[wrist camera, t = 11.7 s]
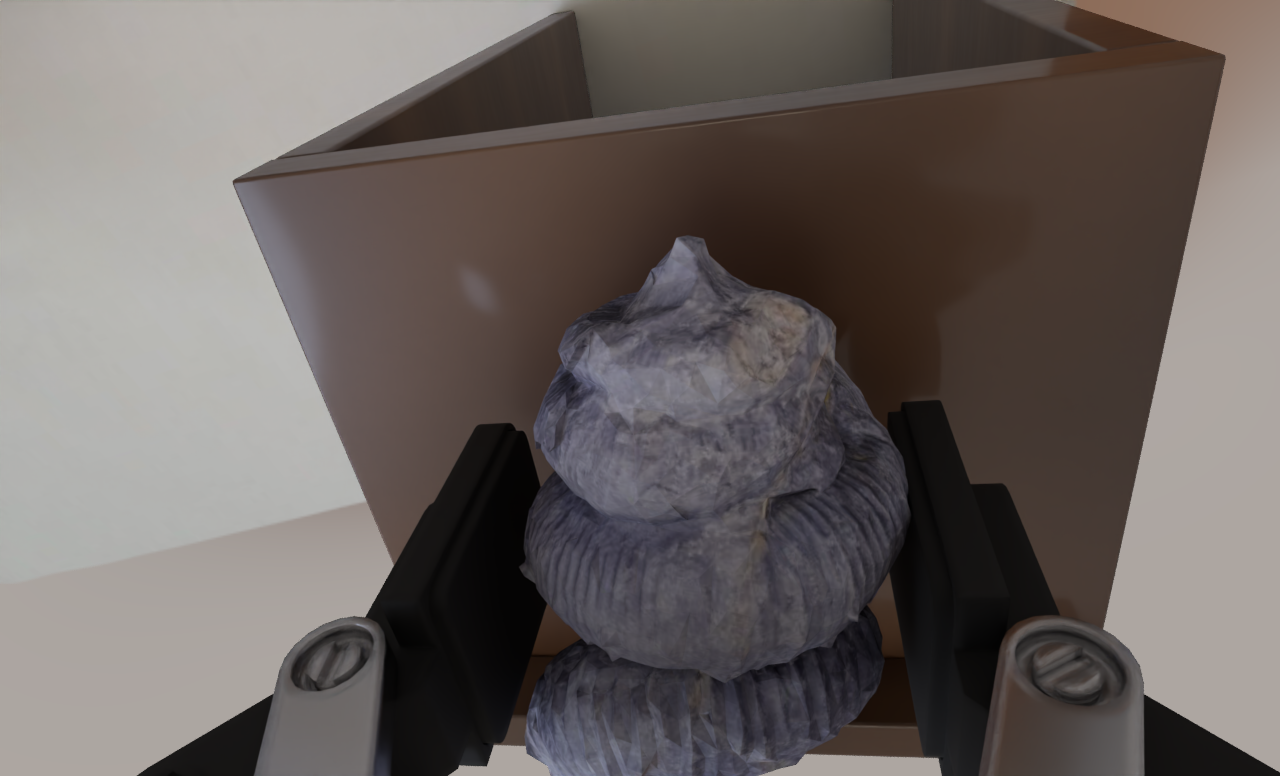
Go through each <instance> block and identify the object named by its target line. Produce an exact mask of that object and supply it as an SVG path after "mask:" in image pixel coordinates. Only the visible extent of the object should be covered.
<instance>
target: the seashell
mask: <svg viewBox="0 0 1280 776" xmlns="http://www.w3.org/2000/svg"><path fill="white" fill-rule="evenodd" d="M835 344H836V326H835V325H834V323H833V322H832V320H831V319H830V318H829V317H828V316H826V315H825V314H824V313H822V312H821V311H820V310H819V309H817V308H814V307H812V306H811V305H810V304H808V303H807V302H806V301H804V300H803V299H800V298H796V297H793V296H790V295H787V294H784V293H780V292H777V291H774V290H765V289H761V288H757V287H753V286H750V285H748V284H746V283H745V282H743V281H741V280H739V279H737V278H735V277H733V276H732V275H731V274H729V273H728V272H727V271H726V270H725V269H724V268H723V267H722V266H721V265H720V264H718V263H717V262H716V261H715V260H714V259H713V258H712V257H711V256H710V255H709V253H708V250H707V247H706V244H705V241H704V239H703V238H698V237H693V236H689V235H686V236H682V237H678V238H676V240H675V243H674V246H673V248H672V249H671V250H670V251H669V252H668V254H667V255H666V256H665V257H664V258H663V259H662V260H661V261H660V262H659V263H658V264H657V266H656V267H655V268H653V269H651V271H650V273H649V275H648V277H647V279H646V281H645V283H644V285H643V286H642V288H641V289H640V290H639V292H636V293H631V294H627V295H623V296H620V297H618V298H616V299H614V300H612V301H610V302H608V303H606V304H604V305H602V306H601V307H599V308H598V309H596V310H595V311H592V312H588V313H584V314H582V315H581V316H580V317H579V318H578V319H577V320H575V321H574V322H573V323H572V324H571V325H570V326H569V327H568V328H567V329H566V331H565V334H564V336H563V339H562V341H561V343H560V346H559V348H558V352H559V355H560V357H561V360H562V362H563V363H562V364H560V366H559V368H558V370H557V372H556V374H555V377H554V379H553V381H552V383H551V385H550V387H549V389H548V391H547V393H546V395H545V397H544V399H543V402H542V404H541V407H540V410H539V413H538V416H537V418H536V421H535V424H534V427H533V431H534V439H535V446H536V449H540V448H541V450H542V452H543V454H544V456H545V458H546V459H547V461H548V462H549V464H550V465H551V466H552V468H553V469H554V470H555V471H554V472H553V473H552V474H551V475H550V476H549V477H548V479H547V480H546V481H545V483H544V484H543V485H542V487H541V488H540V490H539V491H538V493H537V495H536V498H535V500H534V502H533V504H532V507H531V508H529V512H528V518H527V523H526V529H525V538H524V552H525V556H526V559H525V562H524V563H523V564H522V565H521V566H519V568H520V570H521V572H522V573H523V575H524V576H525V577H526V578H528V579H529V580H531V581H532V582H534V583H536V588H537V590H538V592H539V593H540V595H541V596H542V597H543V598H544V600H545V601H546V602H547V603H548V605H549V606H550V607H551V608H552V609H553V611H554V612H555V613H556V614H557V615H558V616H559V617H560V618H561V619H562V620H563V621H564V622H565V624H566V625H569V626H570V627H571V628H572V629H573V630H574V631H575V632H576V633H577V634H578V635H579V636H580V637H581V638H582V639H580V640H578V641H576V642H575V643H573V644H571V645H570V646H568V647H567V648H565V649H563V650H562V651H560V652H559V653H558V654H557V655H556V656H555V657H554V658H553V659H552V660H551V661H550V662H549V663H548V665H547V666H546V668H545V672H544V673H543V674H542V675H541V676H540V677H539V679H538V680H537V682H536V686H535V689H534V692H533V695H532V699H531V702H530V705H529V708H528V709H529V710H528V713H527V724H526V730H525V744H526V750H527V754H529V755H530V756H532V757H534V758H535V759H537V760H539V761H541V762H542V763H543V764H545V765H547V766H548V768H549V771H550V775H551V776H758V775H761V774H765V773H768V772H771V771H774V770H776V769H779V768H783V767H788V766H793V765H796V764H797V763H798V762H799V760H800V759H801V758H802V757H803V756H804V754H805V753H806V752H807V751H809V750H811V749H813V748H815V747H817V746H819V745H821V744H823V743H825V742H827V741H829V740H831V739H833V738H834V737H836V736H838V733H839V731H840V729H841V728H842V727H843V726H845V725H847V724H848V723H850V722H851V721H853V720H854V719H856V718H857V717H858V715H859V714H860V712H861V711H862V709H863V708H864V707H865V705H866V704H867V702H868V701H869V699H870V698H871V697H872V695H873V694H875V693H876V691H877V688H878V685H879V683H880V680H881V674H882V670H883V666H884V662H885V660H884V657H883V653H882V640H883V637H882V634H881V631H880V628H879V625H878V622H877V618H876V617H875V615H874V614H873V612H872V611H871V610H870V608H869V607H868V604H870V603H871V602H872V600H873V599H874V597H875V595H876V594H877V592H878V590H879V589H880V587H881V585H882V584H883V582H884V580H885V578H886V576H887V574H888V573H889V571H890V569H891V567H892V565H893V563H894V561H895V560H896V558H897V556H898V554H899V552H900V551H901V549H902V547H903V545H904V543H905V539H906V535H907V531H908V528H909V524H910V521H911V517H912V515H911V511H910V508H909V505H908V482H907V478H906V475H905V474H906V471H905V466H904V460H903V456H902V455H901V453H900V452H899V450H898V449H897V447H896V446H895V444H894V443H893V441H892V439H891V437H890V435H889V433H888V431H887V429H886V428H885V427H884V426H883V425H882V424H881V423H880V422H879V421H878V420H877V419H876V418H875V417H874V416H873V414H872V412H871V410H870V408H869V406H868V404H867V402H866V400H865V398H864V396H863V394H862V392H861V390H860V389H859V388H858V387H857V386H856V385H855V384H854V383H853V382H852V381H851V379H850V378H849V377H848V375H847V374H846V372H845V371H844V370H843V368H842V367H841V366H840V365H839V364H838V362H837V361H836V360H835Z"/></svg>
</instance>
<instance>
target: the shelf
mask: <svg viewBox="0 0 1280 776" xmlns="http://www.w3.org/2000/svg"><path fill="white" fill-rule="evenodd" d="M1225 60H1226V59H1225V55H1223V54H1220V53H1217V52H1214V51H1211V50H1208V49H1205V48H1202V47H1198V46H1196V45H1192V44H1189V43H1186V42H1183V41H1177V40H1174V39H1171V38H1168V37H1165V36H1162V35H1159V34H1156V33H1153V32H1150V31H1147V30H1144V29H1140V28H1138V27H1134V26H1132V25H1129V24H1125V23H1122V22H1119V21H1116V20H1113V19H1110V18H1107V17H1104V16H1101V15H1098V14H1095V13H1092V12H1089V11H1085V10H1083V9H1080V8H1077V7H1074V6H1071V5H1068V4H1065V3H1061V2H1058V1H1055V0H893V5H892V79H888V80H880V81H873V82H865V83H857V84H850V85H842V86H834V87H827V88H819V89H811V90H804V91H796V92H788V93H781V94H773V95H765V96H758V97H750V98H743V99H735V100H727V101H720V102H712V103H704V104H697V105H689V106H681V107H674V108H666V109H658V110H651V111H643V112H635V113H628V114H620V115H613V116H605V117H597V118H593V115H592V109H591V104H590V98H589V92H588V87H587V81H586V75H585V70H584V64H583V58H582V53H581V47H580V41H579V36H578V30H577V24H576V19H575V13H574V12H573V11H570V12H563V13H557V14H552V15H550V16H548V17H546V18H544V19H542V20H540V21H538V22H536V23H534V24H532V25H531V26H529V27H527V28H525V29H523V30H521V31H519V32H517V33H515V34H513V35H511V36H509V37H508V38H506V39H504V40H502V41H500V42H498V43H496V44H494V45H492V46H490V47H488V48H486V49H485V50H483V51H481V52H479V53H477V54H475V55H473V56H471V57H469V58H467V59H465V60H464V61H462V62H460V63H458V64H456V65H454V66H452V67H450V68H448V69H446V70H444V71H442V72H441V73H439V74H437V75H435V76H433V77H431V78H429V79H427V80H425V81H423V82H421V83H419V84H418V85H416V86H414V87H412V88H410V89H408V90H406V91H404V92H402V93H400V94H398V95H397V96H395V97H393V98H391V99H389V100H387V101H385V102H383V103H381V104H379V105H377V106H375V107H374V108H372V109H370V110H368V111H366V112H364V113H362V114H360V115H358V116H356V117H354V118H352V119H351V120H349V121H347V122H345V123H343V124H341V125H339V126H337V127H335V128H333V129H331V130H330V131H328V132H326V133H324V134H322V135H320V136H318V137H316V138H314V139H312V140H310V141H308V142H307V143H305V144H303V145H301V146H299V147H297V148H295V149H293V150H291V151H289V152H287V153H285V154H284V155H282V156H280V157H278V158H277V159H275V160H271V161H269V162H267V163H265V164H263V165H261V166H259V167H257V168H255V169H253V170H252V171H250V172H248V173H246V174H244V175H242V176H240V177H238V178H236V179H235V180H233V185H234V188H235V190H236V192H237V195H238V197H239V199H240V202H241V204H242V207H243V209H244V211H245V214H246V216H247V218H248V221H249V223H250V226H251V228H252V230H253V233H254V235H255V237H256V240H257V242H258V244H259V247H260V249H261V252H262V254H263V256H264V259H265V261H266V263H267V266H268V268H269V271H270V273H271V275H272V278H273V280H274V282H275V285H276V287H277V289H278V292H279V294H280V297H281V299H282V301H283V304H284V306H285V308H286V311H287V313H288V316H289V318H290V320H291V323H292V325H293V327H294V330H295V332H296V335H297V337H298V339H299V342H300V344H301V346H302V349H303V351H304V353H305V356H306V358H307V361H308V363H309V365H310V368H311V370H312V372H313V375H314V377H315V380H316V382H317V384H318V387H319V389H320V391H321V394H322V396H323V398H324V401H325V403H326V406H327V408H328V410H329V413H330V415H331V417H332V420H333V422H334V425H335V427H336V429H337V432H338V434H339V436H340V439H341V441H342V443H343V446H344V448H345V451H346V453H347V455H348V458H349V460H350V462H351V465H352V467H353V470H354V472H355V474H356V477H357V479H358V481H359V484H360V486H361V489H362V491H363V493H364V496H365V498H366V500H367V503H368V505H369V507H370V510H371V512H372V515H373V517H374V519H375V522H376V524H377V526H378V529H379V531H380V534H381V536H382V538H383V541H384V543H385V545H386V548H387V550H388V552H389V555H390V557H391V559H392V562H393V564H394V565H395V563H396V561H397V560H398V558H399V556H400V554H401V553H402V551H403V549H404V547H405V545H406V544H407V542H408V540H409V538H410V536H411V535H412V533H413V531H414V529H415V527H416V526H417V524H418V522H419V520H420V519H421V517H422V515H423V513H424V511H425V510H426V509H427V507H428V506H429V505H430V504H432V503H434V501H435V499H436V498H437V496H438V494H439V492H440V490H441V489H442V487H443V485H444V483H445V481H446V480H447V478H448V476H449V474H450V472H451V470H452V469H453V467H454V465H455V463H456V461H457V460H458V458H459V456H460V454H461V452H462V451H463V449H464V447H465V445H466V443H467V441H468V440H469V438H470V436H471V434H472V432H473V431H474V429H475V427H476V426H477V425H480V424H494V423H512V424H513V425H514V427H515V428H516V431H524V432H525V434H526V436H527V439H528V442H529V446H530V450H531V453H532V457H533V461H534V464H535V468H536V471H537V475H538V479H539V482H540V486H541V487H542V485H543V484H544V483H545V481H546V480H547V479H548V477H549V476H550V475H551V474H552V473H553V472H554V471H555V470H554V469H553V468H552V466H551V465H550V464H549V462H548V461H547V459H546V458H545V456H544V454H543V452H542V450H541V448H540V449H536V446H535V439H534V431H533V427H534V424H535V421H536V418H537V416H538V413H539V410H540V407H541V404H542V402H543V399H544V397H545V395H546V393H547V391H548V389H549V387H550V385H551V383H552V381H553V379H554V377H555V374H556V372H557V370H558V368H559V366H560V364H562V363H563V362H562V360H561V357H560V355H559V352H558V348H559V346H560V343H561V341H562V339H563V336H564V334H565V331H566V329H567V328H568V327H569V326H570V325H571V324H572V323H573V322H574V321H575V320H577V319H578V318H579V317H580V316H581V315H582V314H584V313H588V312H592V311H595V310H596V309H598V308H599V307H601V306H602V305H604V304H606V303H608V302H610V301H612V300H614V299H616V298H618V297H620V296H623V295H627V294H631V293H636V292H639V290H640V289H641V288H642V286H643V285H644V283H645V281H646V279H647V277H648V275H649V273H650V271H651V269H653V268H655V267H656V266H657V264H658V263H659V262H660V261H661V260H662V259H663V258H664V257H665V256H666V255H667V254H668V252H669V251H670V250H671V249H672V248H673V246H674V243H675V240H676V238H678V237H682V236H686V235H689V236H693V237H698V238H703V239H704V241H705V244H706V247H707V250H708V253H709V255H710V256H711V257H712V258H713V259H714V260H715V261H716V262H717V263H718V264H720V265H721V266H722V267H723V268H724V269H725V270H726V271H727V272H728V273H729V274H731V275H732V276H733V277H735V278H737V279H739V280H741V281H743V282H745V283H746V284H748V285H750V286H753V287H757V288H761V289H765V290H774V291H777V292H780V293H784V294H787V295H790V296H793V297H796V298H800V299H803V300H804V301H806V302H807V303H808V304H810V305H811V306H812V307H814V308H817V309H819V310H820V311H821V312H822V313H824V314H825V315H826V316H828V317H829V318H830V319H831V320H832V322H833V323H834V325H835V326H836V344H835V360H836V361H837V362H838V364H839V365H840V366H841V367H842V368H843V370H844V371H845V372H846V374H847V375H848V377H849V378H850V379H851V381H852V382H853V383H854V384H855V385H856V386H857V387H858V388H859V389H860V390H861V392H862V394H863V396H864V398H865V400H866V402H867V404H868V406H869V408H870V410H871V412H872V414H873V416H874V417H875V418H876V419H877V420H878V421H879V422H880V423H881V424H882V425H883V426H884V427H885V428H886V429H887V419H888V412H896V411H901V404H902V402H908V401H927V400H940V401H941V402H942V405H943V407H944V410H945V413H946V416H947V419H948V422H949V424H950V427H951V430H952V433H953V436H954V439H955V441H956V444H957V447H958V450H959V453H960V456H961V459H962V461H963V464H964V467H965V470H966V473H967V476H968V478H969V481H970V484H990V483H1003V484H1004V485H1005V486H1006V487H1007V489H1008V491H1009V492H1010V495H1011V497H1012V500H1013V502H1014V504H1015V507H1016V509H1017V512H1018V514H1019V516H1020V519H1021V521H1022V524H1023V526H1024V529H1025V531H1026V533H1027V536H1028V538H1029V541H1030V543H1031V545H1032V548H1033V550H1034V553H1035V555H1036V558H1037V560H1038V562H1039V565H1040V567H1041V570H1042V572H1043V574H1044V577H1045V579H1046V582H1047V584H1048V587H1049V589H1050V591H1051V594H1052V596H1053V599H1054V601H1055V603H1056V606H1057V608H1058V611H1059V613H1060V616H1066V617H1073V618H1076V619H1079V620H1082V621H1085V622H1088V623H1091V624H1094V625H1096V626H1098V627H1099V628H1101V629H1103V627H1104V622H1105V618H1106V613H1107V608H1108V603H1109V599H1110V594H1111V590H1112V585H1113V580H1114V576H1115V570H1116V567H1117V562H1118V557H1119V553H1120V548H1121V543H1122V538H1123V534H1124V529H1125V525H1126V520H1127V515H1128V511H1129V506H1130V501H1131V497H1132V492H1133V487H1134V483H1135V478H1136V473H1137V469H1138V464H1139V460H1140V455H1141V450H1142V446H1143V441H1144V436H1145V431H1146V427H1147V422H1148V418H1149V413H1150V408H1151V404H1152V399H1153V394H1154V390H1155V385H1156V381H1157V376H1158V371H1159V366H1160V362H1161V357H1162V353H1163V348H1164V343H1165V338H1166V334H1167V329H1168V325H1169V320H1170V315H1171V311H1172V306H1173V301H1174V297H1175V292H1176V288H1177V282H1178V278H1179V273H1180V269H1181V264H1182V260H1183V255H1184V250H1185V246H1186V241H1187V236H1188V232H1189V227H1190V222H1191V218H1192V212H1193V208H1194V204H1195V199H1196V195H1197V190H1198V185H1199V180H1200V176H1201V171H1202V167H1203V162H1204V157H1205V153H1206V148H1207V143H1208V139H1209V134H1210V129H1211V124H1212V120H1213V116H1214V111H1215V106H1216V101H1217V97H1218V92H1219V87H1220V83H1221V78H1222V74H1223V69H1224V64H1225ZM868 607H869V608H870V610H871V611H872V612H873V614H874V615H875V617H876V618H877V622H878V625H879V628H880V631H881V634H882V637H883V640H882V653H883V657H884V660H885V662H884V666H883V670H882V674H881V680H880V683H879V685H878V688H877V691H876V693H875V694H873V695H872V697H871V698H870V699H869V701H868V702H867V704H866V705H865V707H864V708H863V709H862V711H861V712H860V714H859V715H858V717H857V718H856V719H854V720H853V721H851V722H850V723H848V724H847V725H845V726H843V727H842V728H841V729H840V731H839V733H838V736H836V737H834V738H833V739H831V740H829V741H827V742H825V743H823V744H821V745H819V746H817V747H815V748H813V749H811V750H809V751H807V752H806V753H805V754H819V755H820V754H821V755H854V756H855V755H856V756H887V757H921V758H924V755H923V752H922V747H921V742H920V737H919V731H918V726H917V720H916V715H915V710H914V704H913V699H912V693H911V688H910V683H909V677H908V672H907V666H906V661H905V655H904V650H903V645H902V639H901V634H900V628H899V623H898V617H897V612H896V607H895V601H894V596H893V590H892V585H891V579H890V574H889V573H888V574H887V576H886V578H885V580H884V582H883V584H882V585H881V587H880V589H879V590H878V592H877V594H876V595H875V597H874V599H873V600H872V602H871V603H870V604H868ZM580 639H582V638H581V637H580V636H579V635H578V634H577V633H576V632H575V631H574V630H573V629H572V628H571V627H570V626H569V625H566V624H565V622H564V621H563V620H562V619H561V618H560V617H559V616H558V615H557V614H556V613H555V612H554V611H553V609H552V608H551V607H550V606H549V605H548V603H547V606H546V609H545V612H544V615H543V619H542V622H541V625H540V628H539V632H538V635H537V638H536V641H535V644H534V648H533V651H532V654H531V657H530V661H529V664H528V667H527V670H526V674H525V677H524V680H523V683H522V686H521V690H520V693H519V696H518V699H517V703H516V706H515V709H514V712H513V715H512V719H511V722H510V725H509V728H508V732H507V734H506V737H505V739H504V741H503V742H502V743H500V744H498V743H494V745H511V746H526V744H525V730H526V724H527V713H528V710H529V709H528V708H529V705H530V702H531V699H532V695H533V692H534V689H535V686H536V682H537V680H538V679H539V677H540V676H541V675H542V674H543V673H544V672H545V668H546V666H547V665H548V663H549V662H550V661H551V660H552V659H553V658H554V657H555V656H556V655H557V654H558V653H559V652H560V651H562V650H563V649H565V648H567V647H568V646H570V645H571V644H573V643H575V642H576V641H578V640H580ZM925 758H938V757H925Z"/></svg>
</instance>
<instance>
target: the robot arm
mask: <svg viewBox="0 0 1280 776" xmlns="http://www.w3.org/2000/svg"><path fill="white" fill-rule="evenodd" d="M887 431H888V433H889V435H890V437H891V439H892V441H893V443H894V444H895V446H896V447H897V449H898V450H899V452H900V453H901V455H902V456H903V460H904V466H905V471H906V474H905V475H906V478H907V482H908V505H909V508H910V511H911V515H912V517H911V521H910V524H909V528H908V531H907V535H906V539H905V543H904V545H903V547H902V549H901V551H900V552H899V554H898V556H897V558H896V560H895V561H894V563H893V565H892V567H891V569H890V571H889V574H890V579H891V585H892V590H893V596H894V601H895V607H896V612H897V617H898V623H899V628H900V634H901V639H902V645H903V650H904V655H905V661H906V666H907V672H908V677H909V683H910V688H911V693H912V699H913V704H914V710H915V715H916V720H917V726H918V731H919V737H920V742H921V747H922V752H923V755H924V757H938V758H939V763H940V768H941V773H942V776H1280V772H1278V771H1276V770H1275V769H1273V768H1271V767H1269V766H1267V765H1266V764H1264V763H1262V762H1261V761H1259V760H1257V759H1255V758H1254V757H1252V756H1250V755H1248V754H1247V753H1245V752H1243V751H1242V750H1240V749H1238V748H1236V747H1235V746H1233V745H1231V744H1229V743H1228V742H1226V741H1224V740H1223V739H1221V738H1219V737H1217V736H1216V735H1214V734H1212V733H1210V732H1209V731H1207V730H1205V729H1203V728H1202V727H1200V726H1198V725H1197V724H1195V723H1193V722H1191V721H1190V720H1188V719H1186V718H1184V717H1183V716H1181V715H1179V714H1177V713H1176V712H1174V711H1172V710H1171V709H1169V708H1167V707H1165V706H1164V705H1162V704H1160V703H1158V702H1157V701H1155V700H1153V699H1151V698H1150V697H1148V696H1146V695H1144V682H1143V678H1142V673H1141V669H1140V665H1139V664H1138V663H1137V661H1136V659H1135V658H1134V656H1133V655H1132V653H1131V652H1130V650H1129V649H1128V648H1127V647H1126V646H1125V645H1123V644H1122V643H1121V642H1120V641H1119V640H1118V639H1117V638H1116V637H1115V636H1113V635H1112V634H1110V633H1108V632H1106V631H1105V630H1103V629H1101V628H1099V627H1098V626H1096V625H1094V624H1091V623H1088V622H1085V621H1082V620H1079V619H1076V618H1073V617H1066V616H1060V613H1059V611H1058V608H1057V606H1056V603H1055V601H1054V599H1053V596H1052V594H1051V591H1050V589H1049V587H1048V584H1047V582H1046V579H1045V577H1044V574H1043V572H1042V570H1041V567H1040V565H1039V562H1038V560H1037V558H1036V555H1035V553H1034V550H1033V548H1032V545H1031V543H1030V541H1029V538H1028V536H1027V533H1026V531H1025V529H1024V526H1023V524H1022V521H1021V519H1020V516H1019V514H1018V512H1017V509H1016V507H1015V504H1014V502H1013V500H1012V497H1011V495H1010V492H1009V491H1008V489H1007V487H1006V486H1005V485H1004V484H1003V483H990V484H970V481H969V478H968V476H967V473H966V470H965V467H964V464H963V461H962V459H961V456H960V453H959V450H958V447H957V444H956V441H955V439H954V436H953V433H952V430H951V427H950V424H949V422H948V419H947V416H946V413H945V410H944V407H943V405H942V402H941V401H940V400H927V401H908V402H902V404H901V411H896V412H888V419H887ZM540 488H541V486H540V482H539V479H538V475H537V471H536V468H535V464H534V461H533V457H532V453H531V450H530V446H529V442H528V439H527V436H526V434H525V432H524V431H516V428H515V427H514V425H513V424H512V423H494V424H480V425H477V426H476V427H475V429H474V431H473V432H472V434H471V436H470V438H469V440H468V441H467V443H466V445H465V447H464V449H463V451H462V452H461V454H460V456H459V458H458V460H457V461H456V463H455V465H454V467H453V469H452V470H451V472H450V474H449V476H448V478H447V480H446V481H445V483H444V485H443V487H442V489H441V490H440V492H439V494H438V496H437V498H436V499H435V501H434V503H432V504H430V505H429V506H428V507H427V509H426V510H425V511H424V513H423V515H422V517H421V519H420V520H419V522H418V524H417V526H416V527H415V529H414V531H413V533H412V535H411V536H410V538H409V540H408V542H407V544H406V545H405V547H404V549H403V551H402V553H401V554H400V556H399V558H398V560H397V561H396V563H395V565H394V567H393V569H392V571H391V572H390V574H389V576H388V578H387V579H386V581H385V583H384V585H383V587H382V588H381V590H380V592H379V594H378V595H377V597H376V599H375V601H374V603H373V604H372V606H371V608H370V610H369V612H368V614H367V615H366V617H365V618H364V617H355V616H353V617H347V618H340V619H337V620H334V621H331V622H329V623H326V624H323V625H322V626H320V627H318V628H316V629H315V630H313V631H311V632H310V633H308V634H307V635H306V636H305V637H303V638H302V639H301V640H300V641H299V642H298V643H296V644H295V645H294V647H293V648H292V649H291V650H290V652H289V653H288V654H287V656H286V657H285V659H284V661H283V663H282V666H281V668H280V670H279V674H278V679H277V682H276V687H275V691H274V694H272V695H270V696H269V697H267V698H265V699H264V700H262V701H260V702H259V703H257V704H255V705H254V706H252V707H250V708H248V709H247V710H245V711H243V712H242V713H240V714H238V715H237V716H235V717H233V718H232V719H230V720H229V721H226V722H225V723H223V724H221V725H220V726H218V727H216V728H215V729H213V730H211V731H210V732H208V733H206V734H205V735H203V736H201V737H199V738H198V739H196V740H194V741H192V742H191V743H189V744H188V745H186V746H184V747H182V748H181V749H179V750H177V751H176V752H174V753H172V754H171V755H169V756H167V757H166V758H164V759H162V760H160V761H159V762H157V763H155V764H154V765H152V766H150V767H148V768H147V769H146V770H144V771H143V772H141V773H140V774H139V775H137V776H448V775H449V774H451V773H452V772H454V771H455V770H456V769H458V767H459V765H466V766H487V764H488V761H489V758H490V755H491V752H492V748H493V745H494V743H498V744H500V743H502V742H503V741H504V739H505V737H506V734H507V732H508V728H509V725H510V722H511V719H512V715H513V712H514V709H515V706H516V703H517V699H518V696H519V693H520V690H521V686H522V683H523V680H524V677H525V674H526V670H527V667H528V664H529V661H530V657H531V654H532V651H533V648H534V644H535V641H536V638H537V635H538V632H539V628H540V625H541V622H542V619H543V615H544V612H545V609H546V606H547V602H546V601H545V600H544V598H543V597H542V596H541V595H540V593H539V592H538V590H537V588H536V583H534V582H532V581H531V580H529V579H528V578H526V577H525V576H524V575H523V573H522V572H521V570H520V568H519V566H521V565H522V564H523V563H524V562H525V559H526V556H525V552H524V538H525V529H526V523H527V518H528V512H529V508H531V507H532V504H533V502H534V500H535V498H536V495H537V493H538V491H539V490H540Z"/></svg>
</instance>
